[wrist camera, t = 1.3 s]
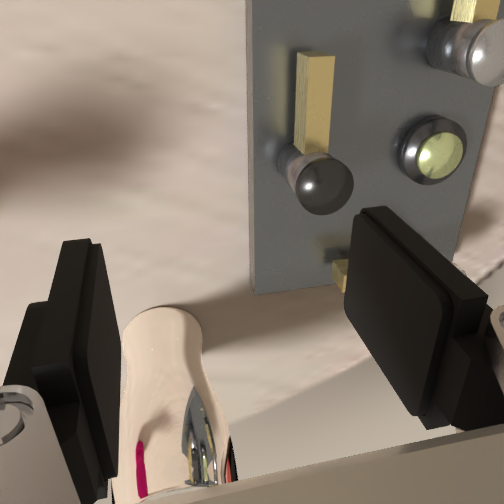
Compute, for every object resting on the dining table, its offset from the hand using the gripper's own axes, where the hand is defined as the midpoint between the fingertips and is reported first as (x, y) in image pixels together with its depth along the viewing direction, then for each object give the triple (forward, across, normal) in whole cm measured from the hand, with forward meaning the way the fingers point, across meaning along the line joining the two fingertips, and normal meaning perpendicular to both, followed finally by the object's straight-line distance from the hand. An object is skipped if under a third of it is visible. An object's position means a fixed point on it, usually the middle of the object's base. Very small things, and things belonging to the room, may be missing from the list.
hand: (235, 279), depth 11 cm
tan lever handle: (+18, -8, +1) cm, 19 cm away
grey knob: (+18, -17, -5) cm, 25 cm away
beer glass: (+20, +2, +18) cm, 27 cm away
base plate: (+20, -12, +4) cm, 24 cm away
